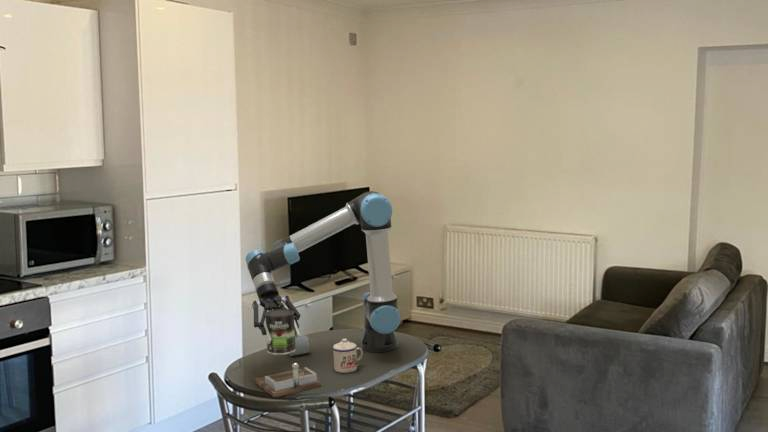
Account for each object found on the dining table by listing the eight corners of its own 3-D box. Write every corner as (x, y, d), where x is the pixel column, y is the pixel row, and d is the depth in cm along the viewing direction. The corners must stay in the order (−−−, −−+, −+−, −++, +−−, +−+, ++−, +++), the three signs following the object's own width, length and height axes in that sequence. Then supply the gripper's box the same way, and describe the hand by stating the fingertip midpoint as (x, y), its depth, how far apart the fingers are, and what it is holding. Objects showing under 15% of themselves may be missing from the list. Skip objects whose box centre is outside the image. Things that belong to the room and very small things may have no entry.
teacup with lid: (341, 375, 283) (339, 344, 281) (329, 368, 290) (328, 338, 289) (369, 368, 289) (367, 338, 287) (357, 362, 297) (355, 332, 295)
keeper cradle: (265, 384, 272) (263, 360, 270) (306, 375, 280) (305, 352, 278) (276, 392, 263) (275, 368, 262) (318, 383, 271) (317, 359, 270)
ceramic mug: (312, 354, 308) (311, 336, 307) (293, 358, 304) (292, 339, 303) (302, 348, 317) (301, 330, 316) (284, 351, 314) (282, 333, 313)
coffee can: (294, 354, 271) (292, 315, 269) (265, 355, 271) (263, 317, 269) (297, 345, 281) (295, 308, 279) (269, 346, 281) (266, 309, 279)
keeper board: (254, 382, 278) (254, 378, 278) (300, 372, 287) (300, 368, 287) (273, 397, 263) (273, 393, 263) (321, 386, 272) (321, 382, 272)
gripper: (291, 288, 292) (310, 339, 281) (234, 297, 281) (251, 350, 270) (296, 277, 287) (315, 328, 275) (238, 286, 276) (255, 339, 264)
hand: (284, 339), depth 272 cm, fingers closed on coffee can, 10 cm apart
